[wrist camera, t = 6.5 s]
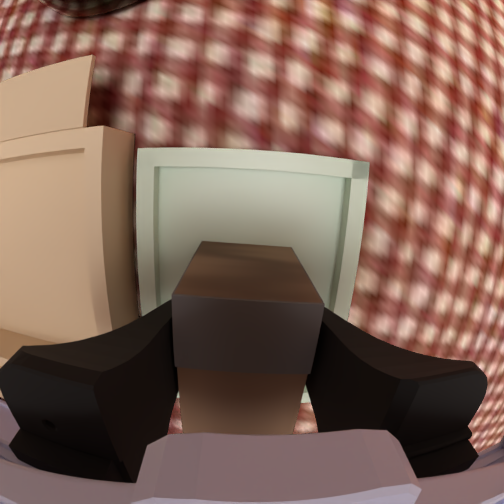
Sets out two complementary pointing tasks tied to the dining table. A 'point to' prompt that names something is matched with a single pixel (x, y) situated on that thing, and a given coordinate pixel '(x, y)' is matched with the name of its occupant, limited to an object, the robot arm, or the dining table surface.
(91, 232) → the carton
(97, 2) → the beer bottle
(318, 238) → the green tray
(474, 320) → the dining table surface
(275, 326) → the walnut block
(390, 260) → the dining table surface
